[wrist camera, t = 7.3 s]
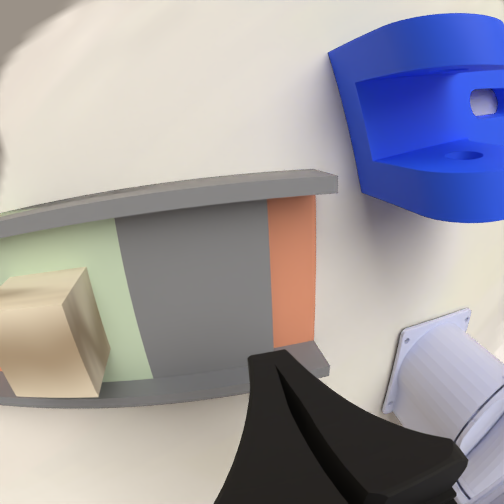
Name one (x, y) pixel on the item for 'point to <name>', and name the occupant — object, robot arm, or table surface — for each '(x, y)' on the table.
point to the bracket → (427, 114)
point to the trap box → (182, 280)
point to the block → (52, 335)
